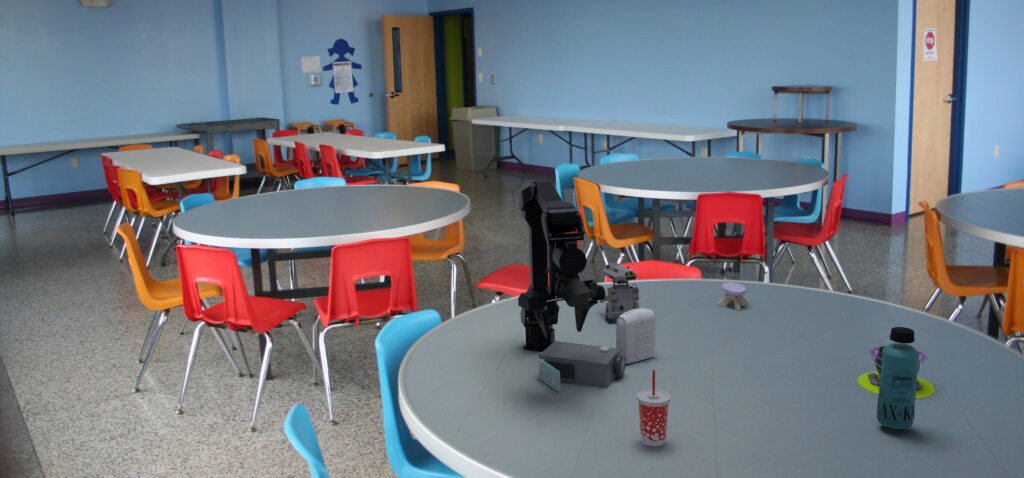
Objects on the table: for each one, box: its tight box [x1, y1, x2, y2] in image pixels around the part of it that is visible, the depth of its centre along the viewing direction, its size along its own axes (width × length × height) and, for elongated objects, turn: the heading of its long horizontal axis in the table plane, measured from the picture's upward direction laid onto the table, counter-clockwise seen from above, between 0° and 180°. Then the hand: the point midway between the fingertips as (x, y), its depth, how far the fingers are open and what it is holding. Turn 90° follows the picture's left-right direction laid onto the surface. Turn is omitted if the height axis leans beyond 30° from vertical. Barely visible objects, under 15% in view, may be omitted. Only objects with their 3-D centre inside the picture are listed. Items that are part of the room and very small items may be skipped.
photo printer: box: [615, 307, 656, 365], centre depth 191 cm, size 10×4×12 cm, turn 123°
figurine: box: [599, 262, 640, 324], centre depth 222 cm, size 9×12×15 cm
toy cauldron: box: [857, 335, 935, 400], centre depth 172 cm, size 15×15×11 cm
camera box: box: [538, 340, 627, 388], centre depth 183 cm, size 18×10×6 cm, turn 65°
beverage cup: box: [636, 369, 671, 447], centre depth 149 cm, size 6×6×14 cm
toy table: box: [717, 281, 750, 311], centre depth 231 cm, size 10×9×6 cm
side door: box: [538, 358, 561, 392], centre depth 177 cm, size 9×1×5 cm, turn 25°
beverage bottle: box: [876, 326, 920, 430], centre depth 150 cm, size 6×7×20 cm
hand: (563, 334), depth 174 cm, fingers open, 8 cm apart
